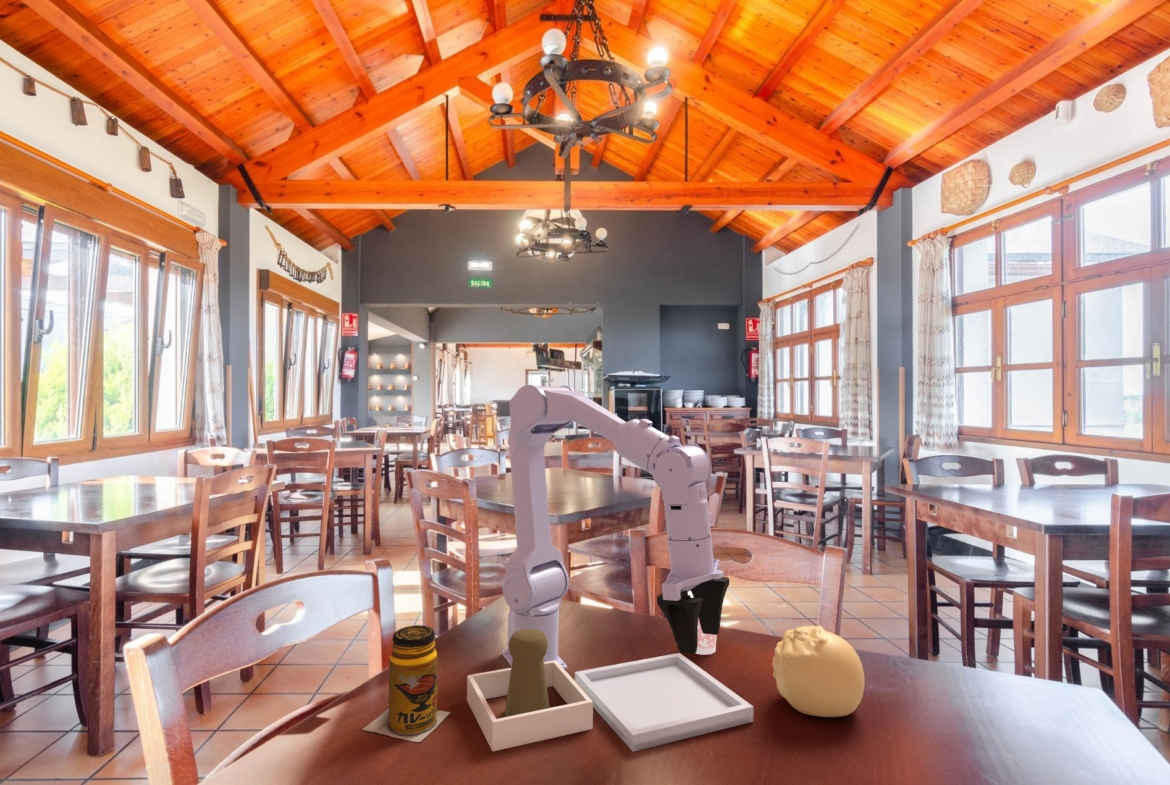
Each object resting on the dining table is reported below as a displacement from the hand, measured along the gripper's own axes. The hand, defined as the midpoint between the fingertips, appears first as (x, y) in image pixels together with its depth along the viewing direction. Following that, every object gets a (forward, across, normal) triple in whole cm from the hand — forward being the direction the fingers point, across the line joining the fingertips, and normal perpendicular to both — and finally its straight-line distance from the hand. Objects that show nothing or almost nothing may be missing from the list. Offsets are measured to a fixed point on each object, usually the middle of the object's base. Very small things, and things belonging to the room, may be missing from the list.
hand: (699, 642), depth 81 cm
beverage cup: (+10, +23, +10) cm, 27 cm away
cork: (+8, -10, +21) cm, 25 cm away
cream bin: (+8, -10, +21) cm, 25 cm away
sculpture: (+12, +14, -10) cm, 21 cm away
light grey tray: (+10, +3, +8) cm, 13 cm away
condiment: (+7, -21, +33) cm, 39 cm away
